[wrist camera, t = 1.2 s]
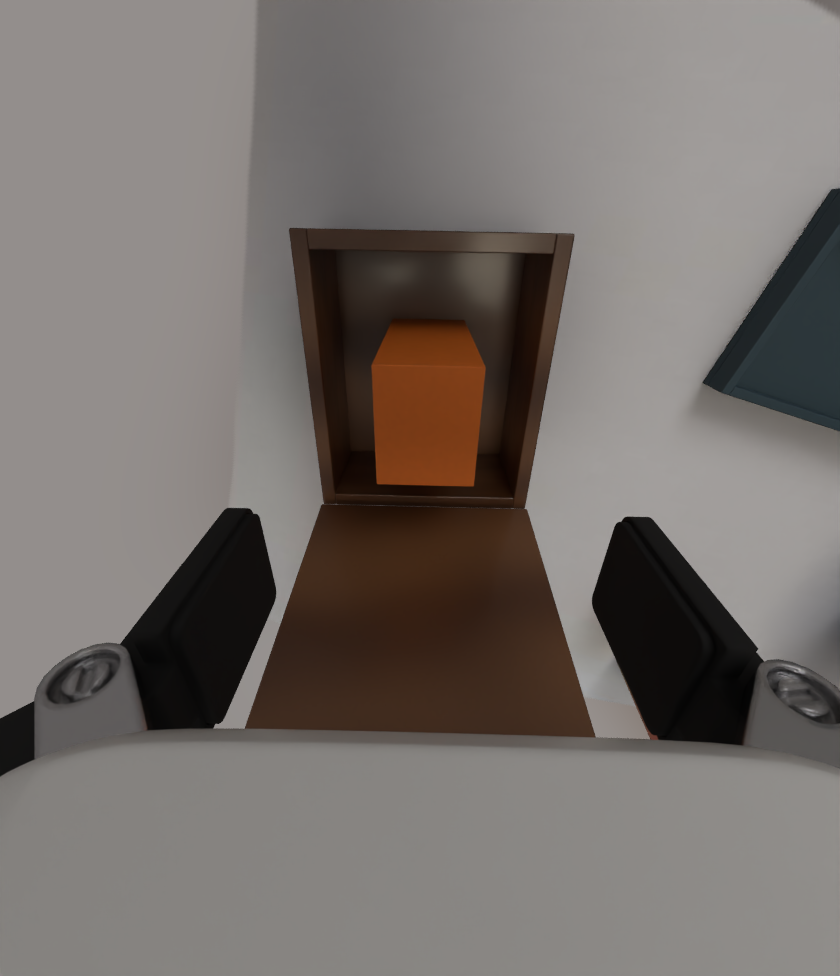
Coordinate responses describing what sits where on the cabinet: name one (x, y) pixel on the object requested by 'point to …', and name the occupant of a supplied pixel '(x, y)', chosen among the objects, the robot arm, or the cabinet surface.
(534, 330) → the chest
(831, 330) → the tray
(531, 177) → the cabinet surface
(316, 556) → the lid
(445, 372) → the block
